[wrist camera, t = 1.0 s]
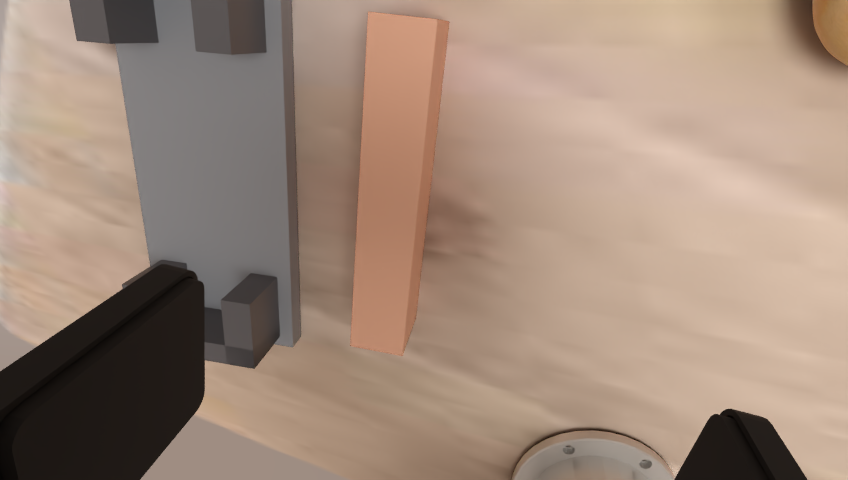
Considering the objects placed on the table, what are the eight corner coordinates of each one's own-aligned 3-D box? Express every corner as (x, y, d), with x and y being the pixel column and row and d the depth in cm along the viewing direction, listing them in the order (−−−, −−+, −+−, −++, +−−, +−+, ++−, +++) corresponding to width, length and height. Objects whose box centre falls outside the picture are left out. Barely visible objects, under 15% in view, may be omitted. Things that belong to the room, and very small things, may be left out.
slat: (391, 15, 29) (368, 11, 25) (449, 21, 29) (437, 19, 24) (370, 307, 37) (350, 345, 33) (416, 316, 37) (402, 356, 32)
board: (116, -65, 30) (97, -70, 29) (289, -55, 28) (278, -60, 27) (171, 314, 40) (159, 324, 39) (300, 336, 39) (292, 347, 38)
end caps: (115, -53, 29) (57, -66, 25) (262, -44, 28) (223, -56, 24) (170, 317, 38) (133, 347, 35) (280, 336, 37) (254, 368, 34)
